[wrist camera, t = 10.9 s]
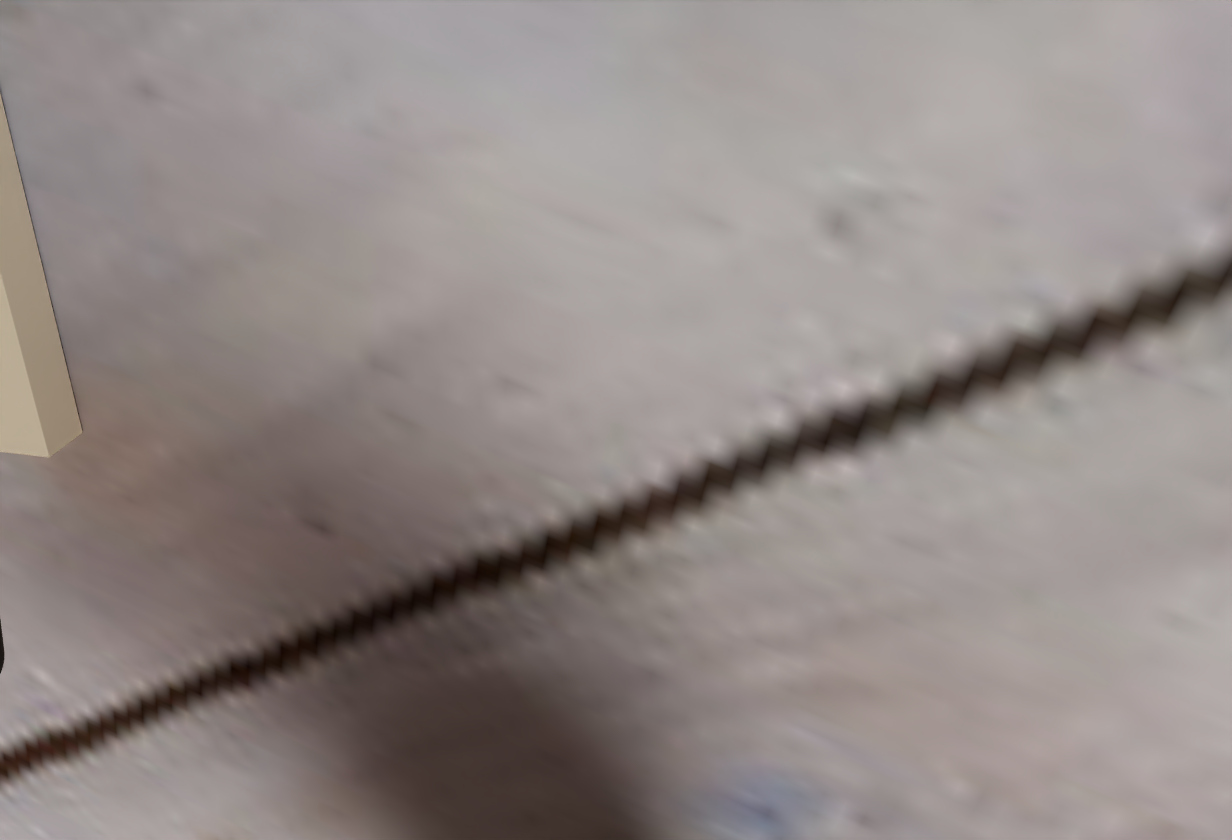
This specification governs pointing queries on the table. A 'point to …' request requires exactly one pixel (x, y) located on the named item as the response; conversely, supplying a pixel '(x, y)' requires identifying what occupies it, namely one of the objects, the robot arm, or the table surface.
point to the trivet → (28, 331)
